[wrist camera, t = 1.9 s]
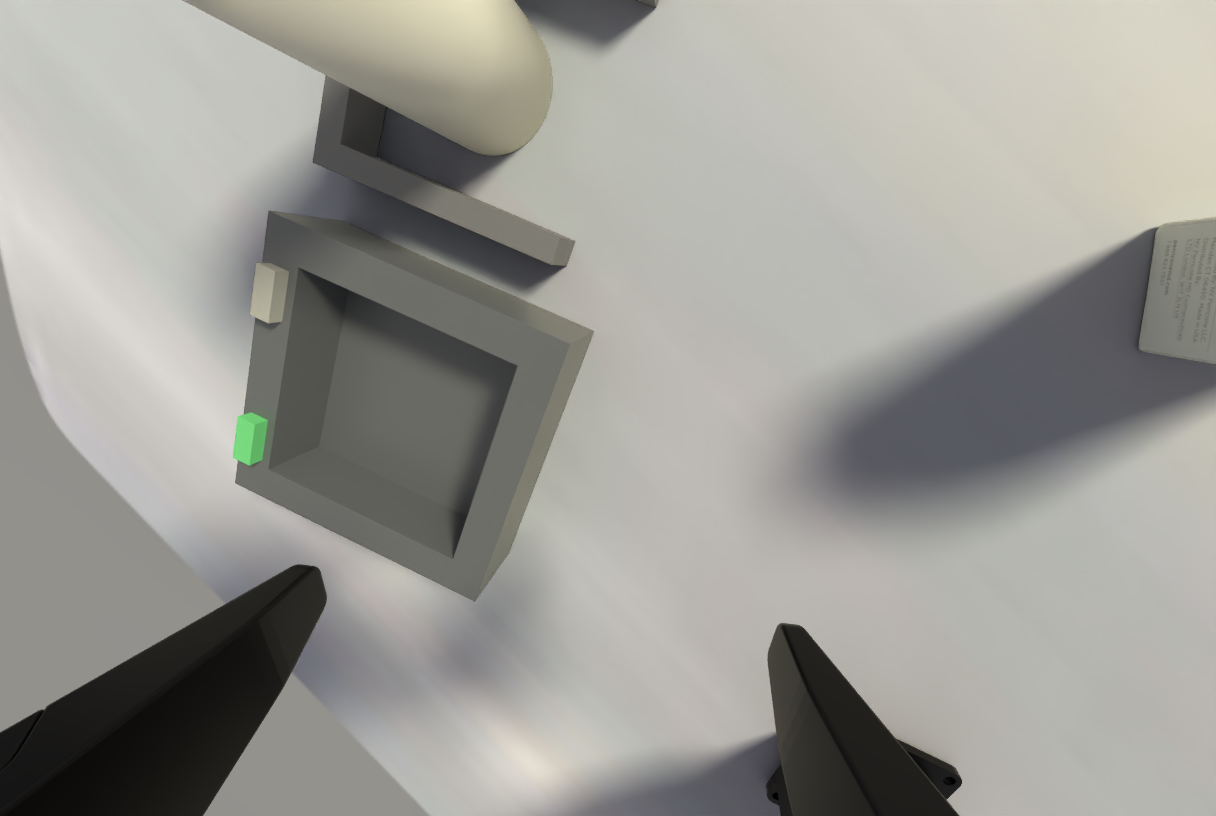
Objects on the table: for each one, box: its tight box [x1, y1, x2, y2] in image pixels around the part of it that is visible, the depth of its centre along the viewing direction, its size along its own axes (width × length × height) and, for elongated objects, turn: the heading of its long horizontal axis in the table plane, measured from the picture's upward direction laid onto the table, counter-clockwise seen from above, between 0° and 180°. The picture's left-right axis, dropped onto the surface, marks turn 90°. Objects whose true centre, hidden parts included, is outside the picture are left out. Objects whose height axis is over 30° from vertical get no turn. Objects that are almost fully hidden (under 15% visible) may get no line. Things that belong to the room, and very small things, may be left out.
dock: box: [233, 211, 594, 601], centre depth 20 cm, size 12×12×4 cm
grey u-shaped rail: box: [313, 0, 659, 266], centre depth 16 cm, size 10×10×2 cm
